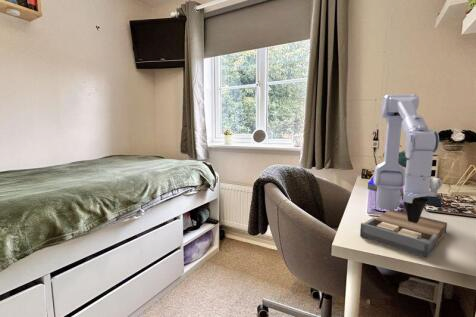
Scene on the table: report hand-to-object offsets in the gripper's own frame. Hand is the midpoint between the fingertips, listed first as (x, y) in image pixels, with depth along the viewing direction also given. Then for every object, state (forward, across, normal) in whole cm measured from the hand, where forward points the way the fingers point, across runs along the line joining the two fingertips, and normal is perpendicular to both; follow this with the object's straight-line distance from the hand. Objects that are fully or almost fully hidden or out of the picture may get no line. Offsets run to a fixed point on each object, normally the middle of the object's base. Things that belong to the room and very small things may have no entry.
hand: (413, 221), depth 72 cm
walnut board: (+6, +9, +3) cm, 11 cm away
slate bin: (+6, -3, +3) cm, 7 cm away
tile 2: (+5, -3, 0) cm, 5 cm away
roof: (+7, +57, +22) cm, 61 cm away
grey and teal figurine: (+7, +46, +5) cm, 47 cm away
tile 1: (+5, -2, +6) cm, 8 cm away
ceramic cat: (+7, +92, +32) cm, 98 cm away
